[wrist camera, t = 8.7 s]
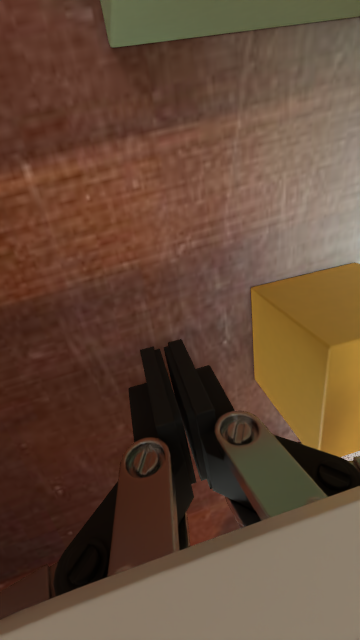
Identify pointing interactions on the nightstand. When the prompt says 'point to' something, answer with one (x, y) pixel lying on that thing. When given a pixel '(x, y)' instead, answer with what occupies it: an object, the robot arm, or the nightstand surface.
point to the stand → (211, 17)
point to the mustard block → (312, 355)
